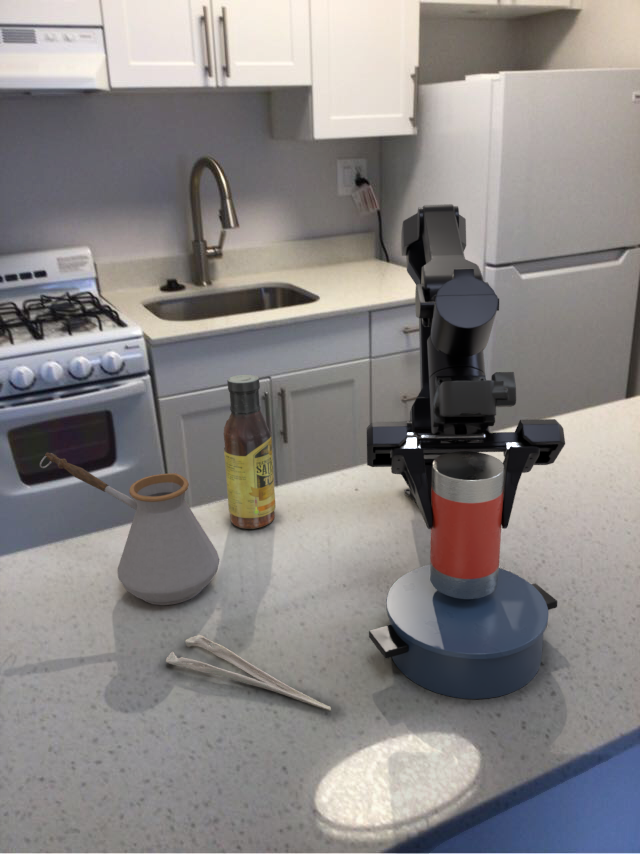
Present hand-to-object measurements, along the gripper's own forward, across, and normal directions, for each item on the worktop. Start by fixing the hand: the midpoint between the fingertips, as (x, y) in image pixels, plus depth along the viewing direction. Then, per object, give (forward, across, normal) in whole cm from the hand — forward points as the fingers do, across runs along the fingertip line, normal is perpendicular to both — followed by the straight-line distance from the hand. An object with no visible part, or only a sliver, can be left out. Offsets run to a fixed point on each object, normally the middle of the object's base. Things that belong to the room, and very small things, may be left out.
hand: (467, 527), depth 71 cm
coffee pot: (+1, -37, +18) cm, 41 cm away
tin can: (+4, 0, +6) cm, 7 cm away
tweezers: (+14, -21, +5) cm, 25 cm away
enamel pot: (+10, 0, +9) cm, 13 cm away
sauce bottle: (-9, -25, +28) cm, 38 cm away
